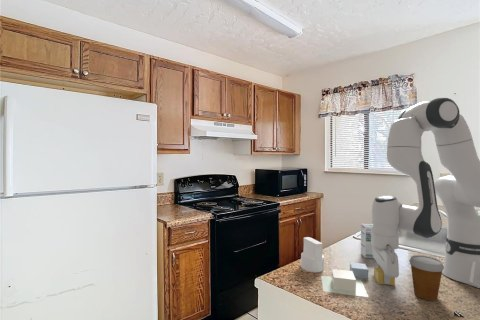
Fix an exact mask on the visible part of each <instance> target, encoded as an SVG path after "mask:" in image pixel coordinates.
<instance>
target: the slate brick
mask: <svg viewBox="0 0 480 320" xmlns="http://www.w3.org/2000/svg"><path fill="white" fill-rule="evenodd" d="M349 271H353V274H354V276H355V278H357V279H358V278H359V279H369V268H368V267H367V265H366V263H362V262H361V263H360V262H351V261H350V262H349Z"/></svg>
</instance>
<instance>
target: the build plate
mask: <svg viewBox="0 0 480 320" xmlns="http://www.w3.org/2000/svg"><path fill="white" fill-rule="evenodd" d="M320 277H321V278H320V279H321V284H322V291H323V292H325V293H331V294H332V293H333V294H340V295H348V296H357V297H363V298H370V297H369V294H368V292H367V290H366V288H365V286H364V285H365V284H364V283H363V281H362V280H360V279H356V292H353V291H345V290H337V289H333V284H332V276H325V275H320Z"/></svg>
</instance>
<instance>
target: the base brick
mask: <svg viewBox="0 0 480 320" xmlns="http://www.w3.org/2000/svg"><path fill="white" fill-rule="evenodd" d="M331 277H332V284H333V289H337V290H345V291H353V292H356V280H357V279H356V277H355V276H354V274H353V271H350V270H345V269H336V268H335V269H334V268H331Z"/></svg>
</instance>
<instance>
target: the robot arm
mask: <svg viewBox="0 0 480 320" xmlns="http://www.w3.org/2000/svg"><path fill="white" fill-rule="evenodd" d="M397 118H398V119H396V120H395V121H393V122H392V123H391V125H390V128H389V132H388V137H387V144H386V159H387V163H388V164H389V165H390V166H391V167H392V168H393V169H395V170H396V171H397V172H399V173H402V174H403V175H406V176H407V177H410V178H411V179H412V180H413V181H414V182H415V184H416V185H415V186H416V190H417V197H418V206H415V205H408V204H405V203H402V202H401V201H400V202H399V200H398V198H397V197H396V196H393V195H379V196H377V197H375V198H374V199H373V202H372V205H371V224H373V226H372V229H371V233H370V239H371V247H372V255H373V257H374V258H373V259H374V260H375V261H376V264H377V265H376V266H377V268H381V269H382V270H383V272H384V277H383V279H384V280H383V281H384V283H385V284H384V285H389V284H390V279H391V277H395V279H396V278H398V277H399V274H400V271H399V270H400V269H399V268H400V267H399V256H398V253H396V252H395V250H398V249H399V247H400V246H399V245H400V244H399V243H400V240H399V239H400V232H399V230H400V231H403V232H406V233H410V234H413V235H414V234H415V235H416V236H419V237H422V238H425V239H429V238H432V237H434V236H437V235H438V234H439V233H440V232H441V230H442V227H443V223H442V217H441V214H440V211H439V207H438V202H437V201H438V199H437V197H438V198H439V199H440V201H441V202H442V206H443V208H444V211H445V215H446V221H447V222H446V223H447V225H446V226H447V227H446V228H447V231H446V232H447V233H446V237H445V259H444V264H443V266H444V269H443V271H442V275H444V276H446V277H447V278H449V279H451V280H453V281H457V282H459V283H462V284H466V285H469V286H471V287H475V288H478V289H480V215H478V213H477V211H476V209H475V207H476V208H480V159H479V156H478V153H477V149H476V147H475V143H474V139H473V136H472V133H471V130H470V128H469V125H468V123H467V121H466V119H465V118H464V116H463V114H460V108H459V106H458V105H457V103H456V102H455V101H454V100H453V99H451V98H448V97H437V98H434V99H429V100H425V101H422V102H419V103H416V104H414V105H411V106H408V107H405V108H404V109H403V110H402V111H401V112H400V113H399V116H398V117H397ZM429 131H431V132H432V134H433V135H434V141H435V144H436V145H435V146H436V150H437V153H438V157H439V161H440V164H441V165H442V166H443V167H444V168H446V170H448V171H449V172H450V173H451V174H450V175H444V176H440V177H439V178H437V179H436V180H435V179H434V174H433V170H432V167H431V165H430V163H428V162H426V160H425V159H424V157H423V154H422V153H423V151H422V136H423V135H424V134H423V133H424V132H429ZM434 180H435V181H434Z"/></svg>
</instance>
